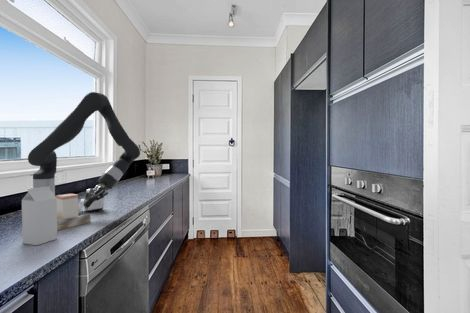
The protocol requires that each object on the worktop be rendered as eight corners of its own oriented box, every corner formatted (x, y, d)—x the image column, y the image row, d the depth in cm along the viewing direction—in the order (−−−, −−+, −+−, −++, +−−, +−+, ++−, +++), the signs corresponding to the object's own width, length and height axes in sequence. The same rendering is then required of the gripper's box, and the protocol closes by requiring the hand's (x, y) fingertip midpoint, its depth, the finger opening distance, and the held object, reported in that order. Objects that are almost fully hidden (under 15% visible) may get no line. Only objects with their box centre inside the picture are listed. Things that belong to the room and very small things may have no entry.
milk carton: (57, 239, 91) (56, 186, 90) (36, 246, 84) (35, 189, 84) (43, 236, 93) (42, 185, 93) (22, 243, 86) (21, 188, 86)
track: (42, 233, 97) (42, 219, 97) (33, 229, 102) (33, 215, 102) (90, 222, 112) (90, 209, 112) (80, 219, 117) (80, 207, 117)
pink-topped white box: (62, 223, 104) (62, 196, 104) (56, 221, 108) (55, 195, 107) (78, 219, 109) (78, 194, 109) (71, 217, 113) (71, 193, 113)
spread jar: (106, 210, 134) (106, 188, 134) (84, 215, 125) (84, 191, 125) (94, 207, 141) (94, 187, 140) (72, 212, 131) (72, 189, 131)
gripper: (98, 171, 126) (72, 200, 116) (113, 172, 119) (86, 203, 109) (108, 181, 130) (84, 209, 121) (123, 182, 123) (99, 212, 113)
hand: (85, 206), depth 115 cm, fingers closed
